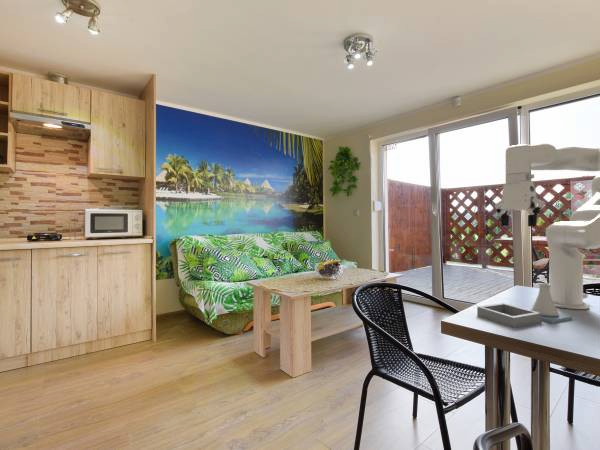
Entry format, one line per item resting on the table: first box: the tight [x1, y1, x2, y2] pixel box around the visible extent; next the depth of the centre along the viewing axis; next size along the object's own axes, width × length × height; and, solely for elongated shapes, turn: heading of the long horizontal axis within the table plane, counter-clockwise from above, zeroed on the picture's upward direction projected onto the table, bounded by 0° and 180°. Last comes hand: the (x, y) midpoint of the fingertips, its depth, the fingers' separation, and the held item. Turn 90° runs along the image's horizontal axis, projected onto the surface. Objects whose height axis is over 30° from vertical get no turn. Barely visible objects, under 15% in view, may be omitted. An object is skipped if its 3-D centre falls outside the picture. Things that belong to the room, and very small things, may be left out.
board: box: [529, 308, 573, 324], centre depth 99 cm, size 10×10×1 cm
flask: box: [530, 282, 559, 316], centre depth 99 cm, size 7×7×10 cm
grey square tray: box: [476, 302, 542, 328], centre depth 98 cm, size 12×12×3 cm
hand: (517, 226), depth 109 cm, fingers open, 9 cm apart
